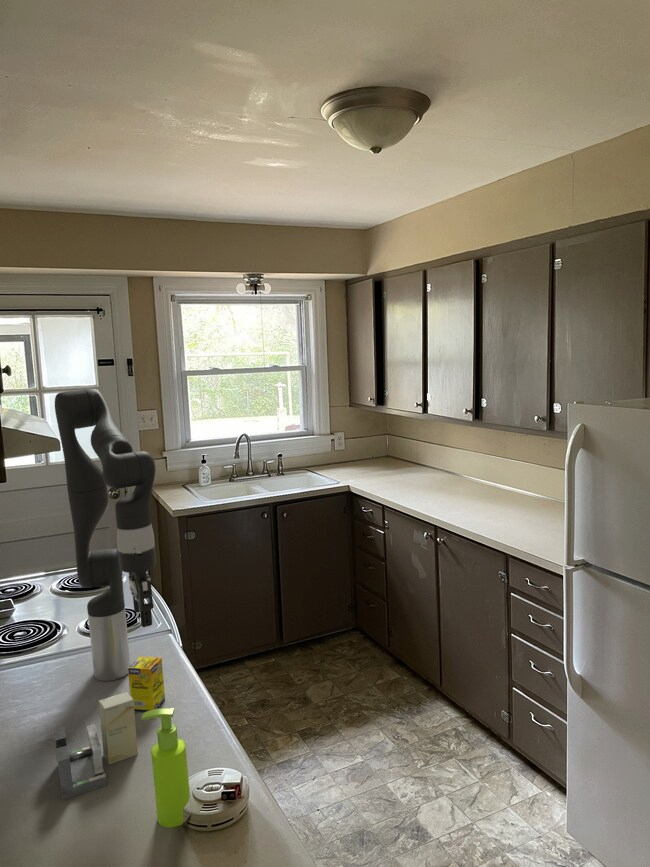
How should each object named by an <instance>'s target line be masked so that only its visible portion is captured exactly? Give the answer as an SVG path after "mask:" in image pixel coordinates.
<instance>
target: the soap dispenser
mask: <svg viewBox="0 0 650 867" xmlns="http://www.w3.org/2000/svg"><path fill="white" fill-rule="evenodd" d="M174 713H175V708H174V707H173V708H172V707H169V708H168V707H165V708H158V709H154V710H150V711H147V712H142V716H141V720H143V721H146V720H150V719H158V718H159V719H160V723H161V724H160V726H159V727H158V728H157V731H156V732H157V733H156V735H157V743H155V744H154V745H153V746H152V748H151V750H150V753H151V763H152V771H153V772H152V775H153V782H154V783H153V784H154V793H155V794H154V795H155V804H156V816H157V818H156V819H157V822H158V824H159V825H160V826H161V827H164V828H167V829H169V828H171V829H172V828H177V827H180V826H181V825H184V824H183V809H184V807H185V806H186V804H187V803H188V801H189V798H190V799H191V794H190V793H191V792H190V781H189V780H190V779H189V770H188V768H189V767H188V759H187V757H188V755H187V747H186V746H187V745H186V742H185V741H184V740H183V739H182V738H179V737H178V728H177V725H176V724H174V723H172V718H173V717H174Z"/></svg>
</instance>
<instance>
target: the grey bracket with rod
mask: <svg viewBox="0 0 650 867" xmlns="http://www.w3.org/2000/svg"><path fill="white" fill-rule="evenodd" d="M65 728H66V727H65V726H60V727H56V728H53V734H54V744H55V752H56V762H57V769H58V777H59V784H60V791H61V800H66V799H69V798H72V797H76V796H79V795H81V794H85V793H87V792H91V791H93V790H97V789H99V788H103V787H105V786H107V785H108V782H107V781H108V780H107V775H106V774H107V773H105V770H104V768H103V774H102V775H99V776H96V777H95V774H94V770H93V766H92V761H91V757H86V758H83V759H80V760H77V761H73V762H70V756H69V755H70V754H74V753H77V752H80V751H84V750H87V749H89V746H87V747H86V746H85V747H82V748H79V749H75V750H72V751H71V752H69V746H68V741H67V733H66V729H65Z"/></svg>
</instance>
